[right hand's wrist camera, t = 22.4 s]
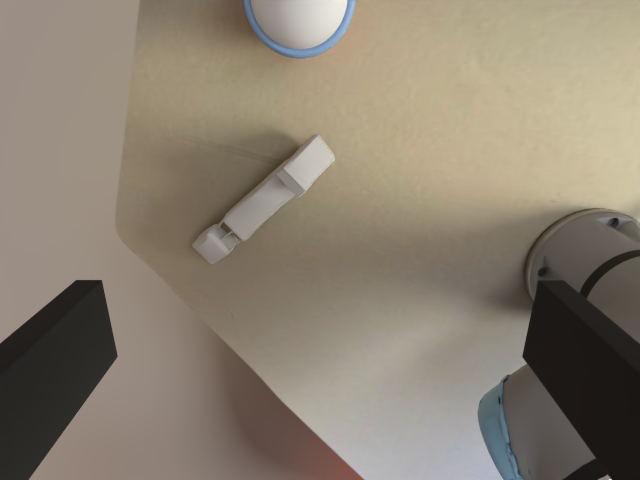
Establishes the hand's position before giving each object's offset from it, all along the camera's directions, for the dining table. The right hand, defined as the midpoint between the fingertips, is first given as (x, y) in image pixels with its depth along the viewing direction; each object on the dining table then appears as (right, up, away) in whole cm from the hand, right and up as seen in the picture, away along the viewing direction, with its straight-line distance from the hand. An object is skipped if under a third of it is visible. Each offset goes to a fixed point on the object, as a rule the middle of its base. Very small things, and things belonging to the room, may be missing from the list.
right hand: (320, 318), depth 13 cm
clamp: (-7, +8, +38) cm, 39 cm away
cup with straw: (-2, +26, +31) cm, 40 cm away
